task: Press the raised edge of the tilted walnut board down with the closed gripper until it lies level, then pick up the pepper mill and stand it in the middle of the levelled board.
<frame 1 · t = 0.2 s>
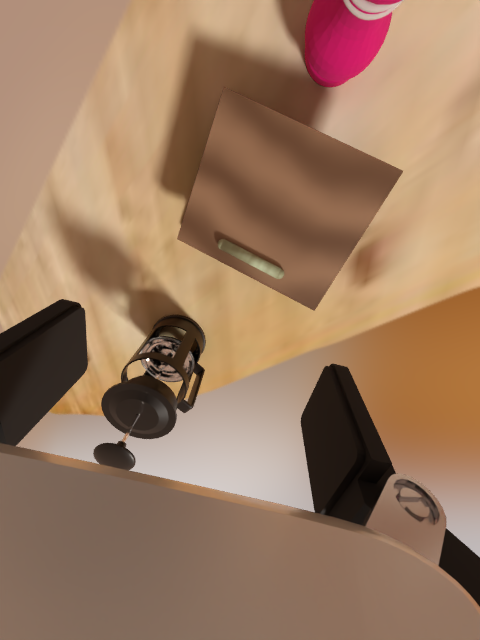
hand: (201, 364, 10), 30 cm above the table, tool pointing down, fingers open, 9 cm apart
pepper mill: (334, 50, 28), on the table
french press: (181, 340, 47), on the table
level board: (274, 209, 28), point 9 cm above the table, hinge at 12.0°
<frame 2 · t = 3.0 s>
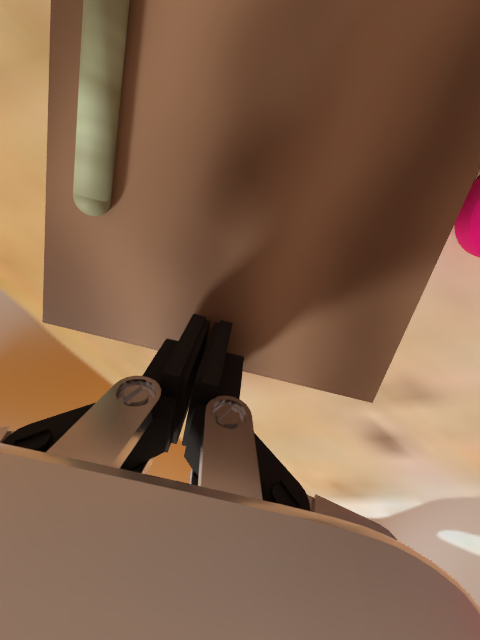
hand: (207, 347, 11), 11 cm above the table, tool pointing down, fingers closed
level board: (263, 136, 9), point 9 cm above the table, hinge at 10.6°, touching gripper
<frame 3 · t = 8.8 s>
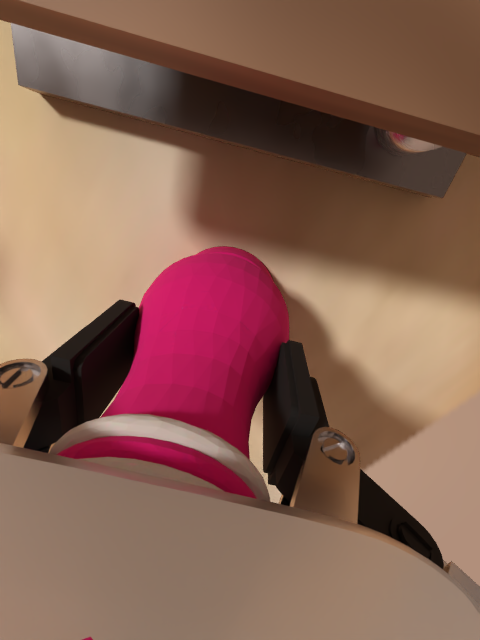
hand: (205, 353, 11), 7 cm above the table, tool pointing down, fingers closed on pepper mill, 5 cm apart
pepper mill: (226, 294, 17), on the table, touching gripper
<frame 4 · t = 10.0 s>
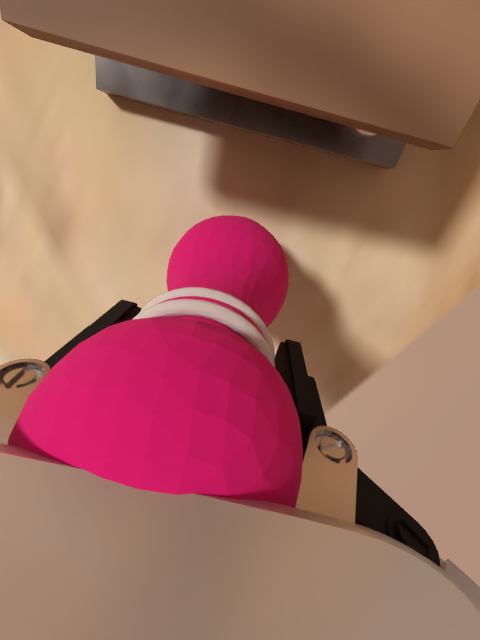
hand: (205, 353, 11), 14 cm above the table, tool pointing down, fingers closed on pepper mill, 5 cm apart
pepper mill: (235, 258, 20), point 3 cm above the table, touching gripper
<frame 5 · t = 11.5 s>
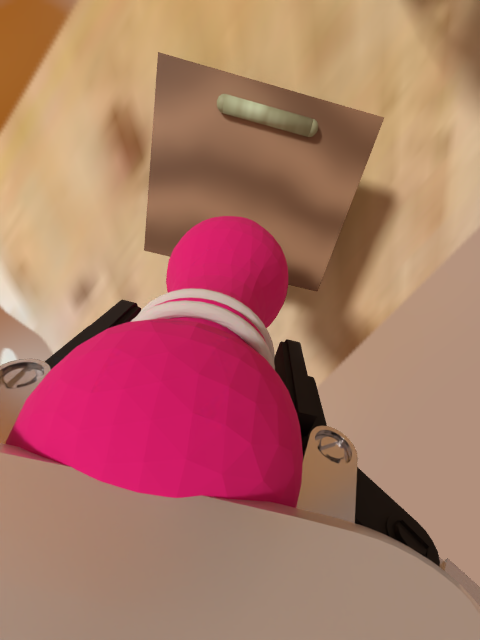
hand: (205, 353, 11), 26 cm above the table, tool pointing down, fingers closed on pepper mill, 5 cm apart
pepper mill: (235, 259, 20), point 15 cm above the table, touching gripper
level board: (250, 191, 24), point 9 cm above the table, hinge at 2.3°
when the fingers open (20 cm above the table, at t = 13.0 s): pepper mill stays where it is, resting on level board.
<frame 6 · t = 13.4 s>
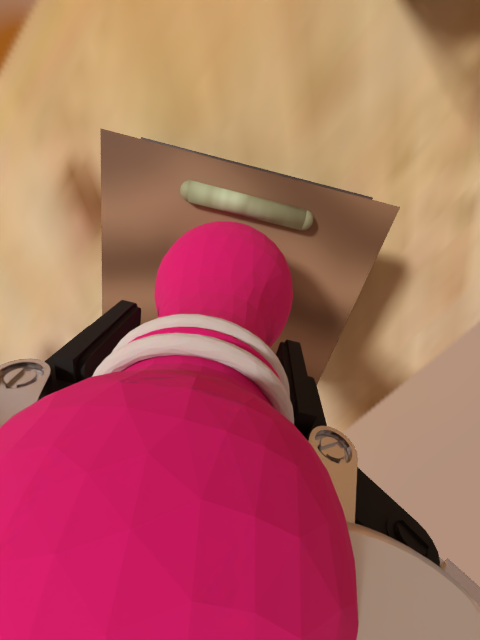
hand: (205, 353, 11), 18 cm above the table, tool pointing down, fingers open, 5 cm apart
pepper mill: (231, 268, 19), point 9 cm above the table, touching gripper, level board
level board: (229, 286, 19), point 9 cm above the table, hinge at 1.9°, touching pepper mill
board stand: (238, 257, 27), on the table
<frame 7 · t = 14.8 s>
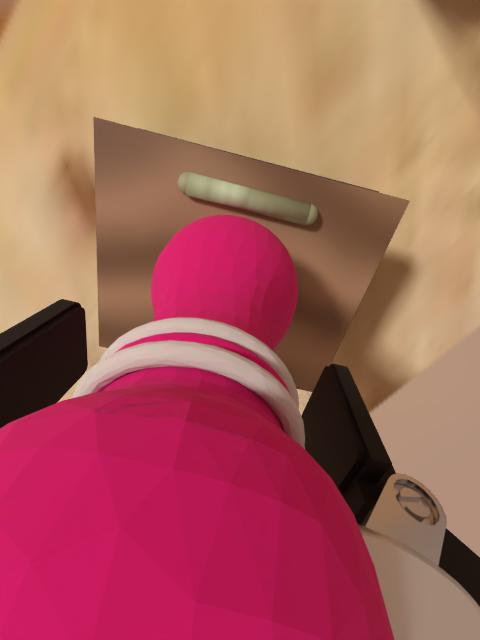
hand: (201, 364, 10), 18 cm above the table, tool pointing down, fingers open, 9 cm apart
pepper mill: (232, 265, 18), point 9 cm above the table, touching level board
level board: (229, 283, 18), point 9 cm above the table, hinge at 1.6°, touching pepper mill
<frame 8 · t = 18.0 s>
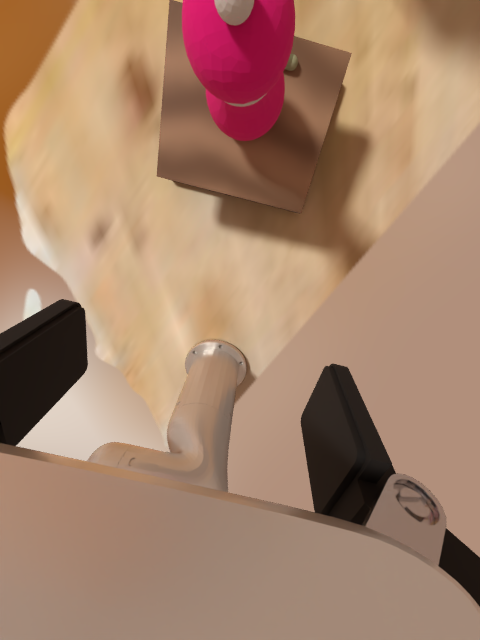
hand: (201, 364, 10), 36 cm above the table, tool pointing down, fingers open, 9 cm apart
pepper mill: (246, 105, 29), point 9 cm above the table, touching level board
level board: (244, 121, 29), point 9 cm above the table, hinge at 1.6°, touching pepper mill
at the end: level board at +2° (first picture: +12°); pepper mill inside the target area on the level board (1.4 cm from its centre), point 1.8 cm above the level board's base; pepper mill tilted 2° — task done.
